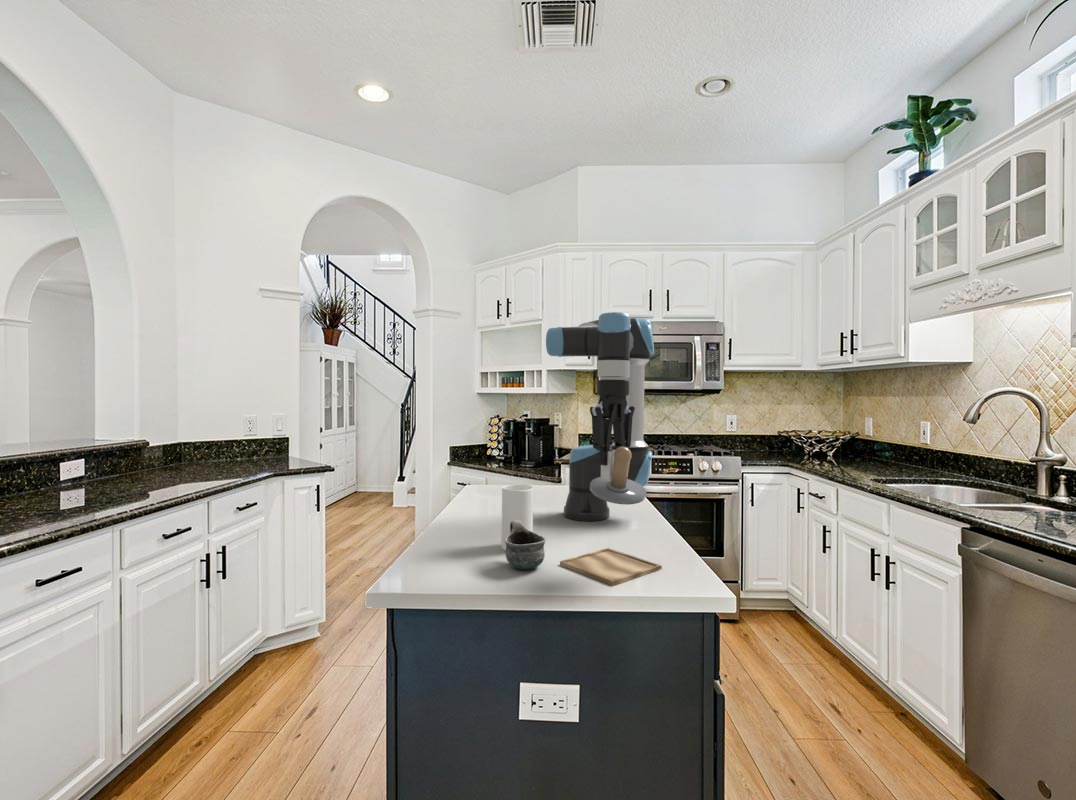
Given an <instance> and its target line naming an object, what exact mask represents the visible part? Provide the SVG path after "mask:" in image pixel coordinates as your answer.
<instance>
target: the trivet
mask: <svg viewBox="0 0 1076 800" xmlns="http://www.w3.org/2000/svg"><path fill="white" fill-rule="evenodd" d="M559 566H561V567H564V568H566V569H570V570H571V571H575V572H577V573H579V574H582V575H585V576H587V577H589V578H592V579H594V580H598V581H600V582H602V583H605V584H607V585H610V586H613V587H614V586H617V585H619V584H622V583H625V582H629V581H632V580H634V579H637V578H640V577H642V576H645V575H649V574H651V573H654V572H657V570H658V571H660V569H661V570H662V569H663V568H662V567H663V565H662V564H659V563H656V562H653V561H649V560H646V559H645V558H644V559H643V558H639V557H637V556H635V555H631V554H627V553H624V552H621V551H618V550H616V549H613V548H610V547H608V548H607V547H606V548H604V549H600V550H597V551H593V552H592V551H591V552H590V553H585V554H582V555H578V556H574V557H570V558H567V559H563V560H561V561H559Z"/></svg>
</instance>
